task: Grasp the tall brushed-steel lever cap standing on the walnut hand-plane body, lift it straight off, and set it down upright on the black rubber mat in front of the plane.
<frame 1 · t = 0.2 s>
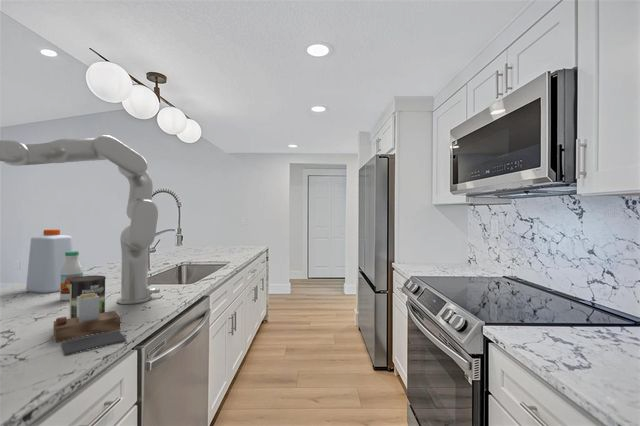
plane body: (87, 331, 101), on the counter
rubber mat: (94, 343, 93), on the counter
milk bottle: (71, 298, 137), on the counter
plastic bottle: (51, 289, 152), on the counter
coffee can: (87, 318, 113), on the counter
lever cap: (87, 318, 101), point 4 cm above the counter, touching plane body
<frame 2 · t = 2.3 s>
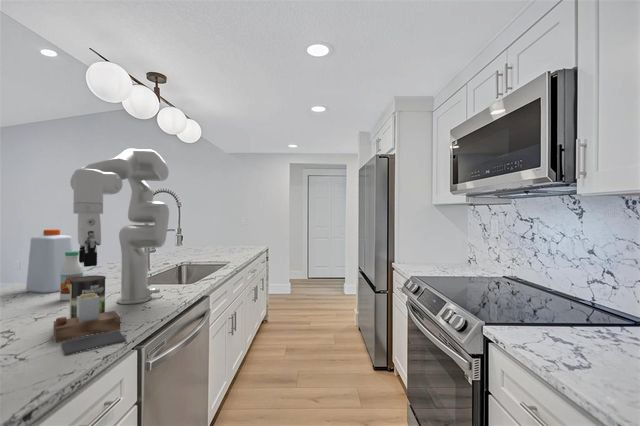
hand: (87, 264, 101), 21 cm above the counter, tool pointing down, fingers open, 9 cm apart
nothing on the counter moved.
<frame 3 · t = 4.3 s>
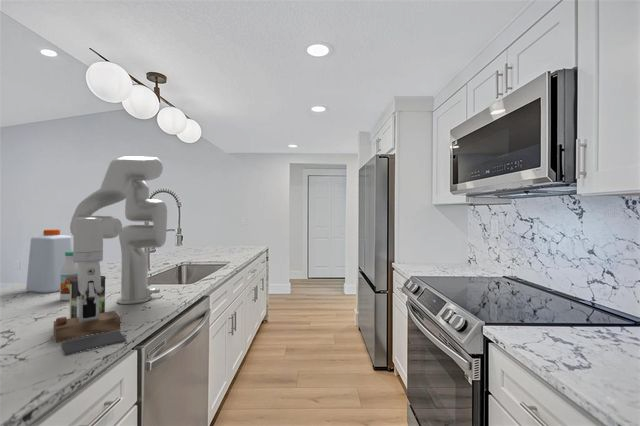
hand: (87, 314, 101), 5 cm above the counter, tool pointing down, fingers closed on lever cap, 5 cm apart
lever cap: (87, 318, 101), point 4 cm above the counter, touching gripper, plane body
everything else where it was.
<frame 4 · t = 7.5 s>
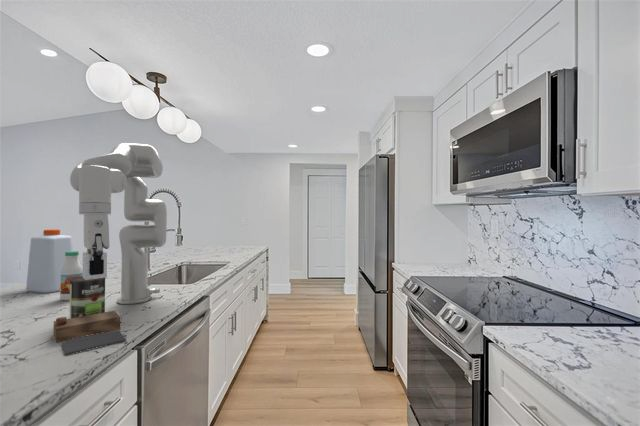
hand: (94, 272, 92), 20 cm above the counter, tool pointing down, fingers closed on lever cap, 5 cm apart
lever cap: (94, 277, 92), point 19 cm above the counter, touching gripper
everything else where it was.
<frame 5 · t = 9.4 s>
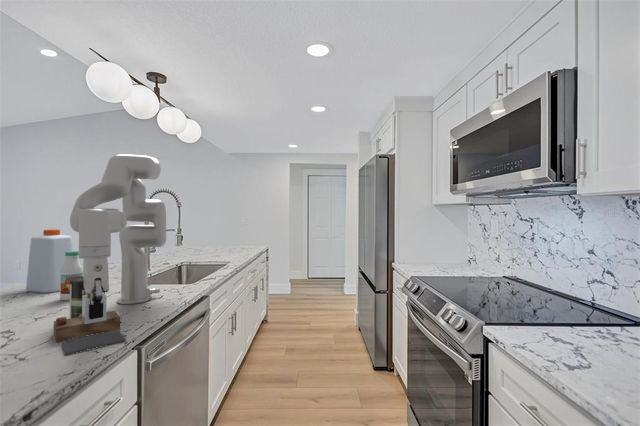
hand: (94, 315, 92), 8 cm above the counter, tool pointing down, fingers closed on lever cap, 5 cm apart
lever cap: (94, 319, 92), point 7 cm above the counter, touching gripper
everything else where it was.
when the fingers open (3 cm above the counter, at t = 10.8 s): lever cap drops 1 cm, resting on rubber mat.
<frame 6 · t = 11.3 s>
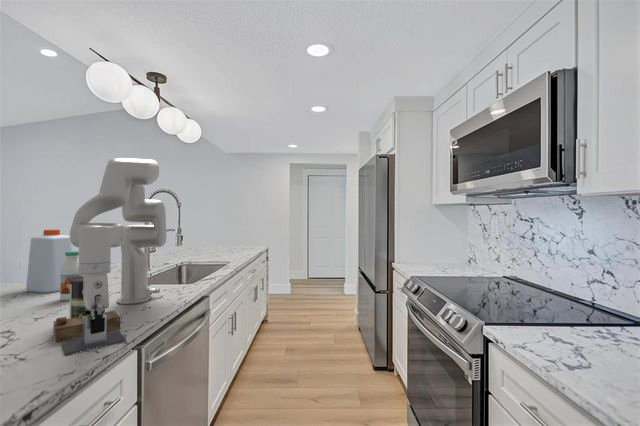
hand: (94, 327, 93), 4 cm above the counter, tool pointing down, fingers open, 9 cm apart
lever cap: (94, 340, 93), point 1 cm above the counter, touching rubber mat
everything else where it was.
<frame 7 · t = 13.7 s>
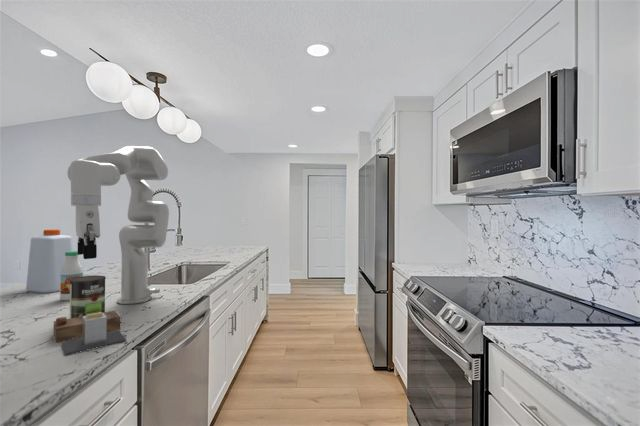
hand: (86, 256, 100), 24 cm above the counter, tool pointing down, fingers open, 9 cm apart
nothing on the counter moved.
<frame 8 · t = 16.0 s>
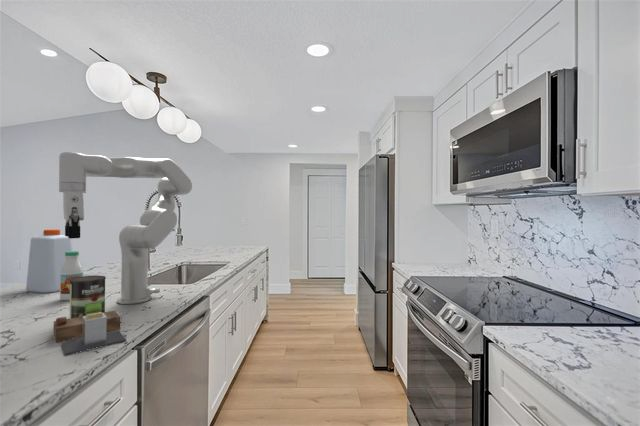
hand: (72, 237, 113), 28 cm above the counter, tool pointing down, fingers open, 9 cm apart
nothing on the counter moved.
at the end: lever cap inside the target area on the rubber mat (0.1 cm from its centre), point 0.6 cm above the rubber mat's base; lever cap tilted 0°; the gripper is holding nothing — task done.
